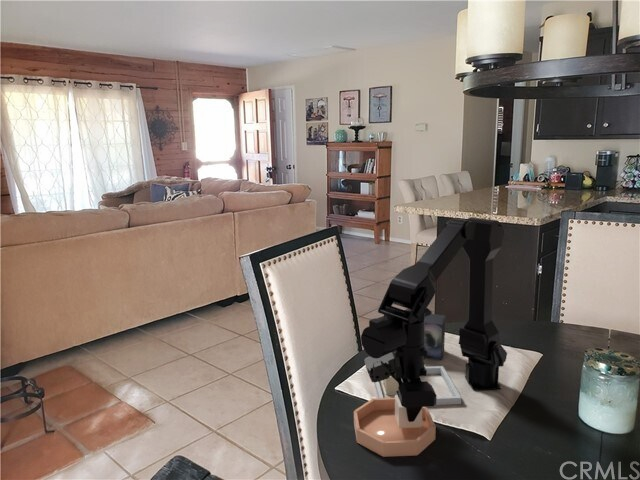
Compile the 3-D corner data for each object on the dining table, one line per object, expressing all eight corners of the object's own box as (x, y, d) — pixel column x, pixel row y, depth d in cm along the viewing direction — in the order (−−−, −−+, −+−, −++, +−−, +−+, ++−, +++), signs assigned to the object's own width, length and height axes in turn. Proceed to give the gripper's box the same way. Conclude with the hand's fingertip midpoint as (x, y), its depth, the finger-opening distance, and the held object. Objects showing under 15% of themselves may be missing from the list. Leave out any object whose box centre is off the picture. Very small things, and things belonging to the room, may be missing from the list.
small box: (401, 355, 127) (401, 318, 125) (406, 345, 133) (406, 310, 131) (441, 361, 123) (442, 323, 121) (445, 350, 129) (446, 314, 127)
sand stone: (402, 384, 113) (402, 366, 112) (405, 394, 108) (406, 376, 107) (383, 384, 113) (383, 367, 112) (386, 394, 108) (386, 376, 107)
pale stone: (416, 414, 97) (417, 394, 96) (421, 427, 92) (422, 406, 91) (394, 414, 97) (394, 394, 96) (398, 428, 92) (398, 407, 91)
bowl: (422, 408, 102) (422, 396, 102) (441, 454, 87) (442, 441, 87) (351, 411, 102) (351, 399, 102) (359, 457, 87) (358, 444, 87)
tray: (442, 371, 118) (442, 366, 117) (460, 403, 103) (461, 397, 103) (372, 374, 117) (371, 368, 117) (380, 407, 103) (380, 400, 103)
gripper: (362, 323, 100) (362, 391, 103) (373, 365, 81) (374, 445, 85) (414, 321, 100) (413, 389, 103) (438, 363, 82) (436, 443, 85)
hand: (408, 414), depth 94 cm, fingers closed on pale stone, 4 cm apart
